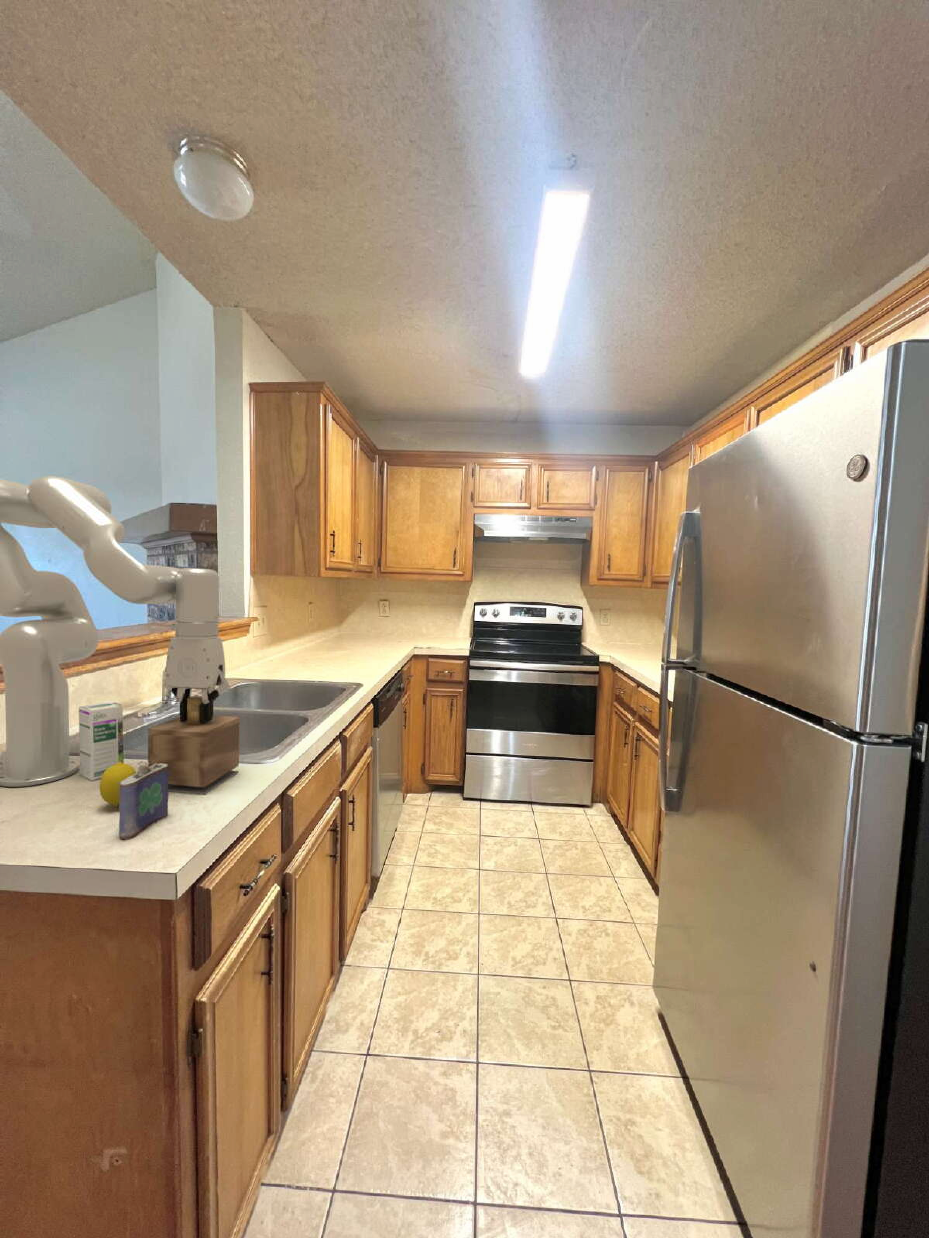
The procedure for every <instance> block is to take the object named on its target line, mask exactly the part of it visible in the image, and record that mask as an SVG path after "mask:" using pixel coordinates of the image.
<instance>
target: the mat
mask: <svg viewBox="0 0 929 1238" xmlns="http://www.w3.org/2000/svg"><path fill="white" fill-rule="evenodd" d="M237 774H239V770H231V771H229V772H228V773H226V774H224V775H223V776H221V777H220V778H218V779H217V780H215V781H213V782H212V783H210V784H209V785H207V786H205V787H195V786H184V785H172V784H168V793H169V792H170V793H183V794H194V795H205V796H206V794H208V793H210V792H212V790H215V789H216V788H218V787H219V786H220V785H222V784H224V783H226V782H227V781H228V780H230V779H231V778H233V777H234V776H236V775H237Z"/></svg>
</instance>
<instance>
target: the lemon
mask: <svg viewBox="0 0 929 1238" xmlns="http://www.w3.org/2000/svg"><path fill="white" fill-rule="evenodd" d="M136 773H137V771H136V769H135V768H134V766H132V765H130V764H129V763H128V764H127V763H125V762H123V763H122V762H117V763H116V764H115V765H113V766H111V767H109V768H108V769H107V770H106V771H105V772H104V774H103V775H102V778H100V781H99V794H100V797H101V799H102V800H103V801H104V802H105V803H107V804H110V805H114V806H116V807H119V802H120V797H119V792H120V789H119V784H120V782H121V781H123V780H125V779H127V778H128V777H130V776H132V775H134V774H136Z"/></svg>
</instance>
